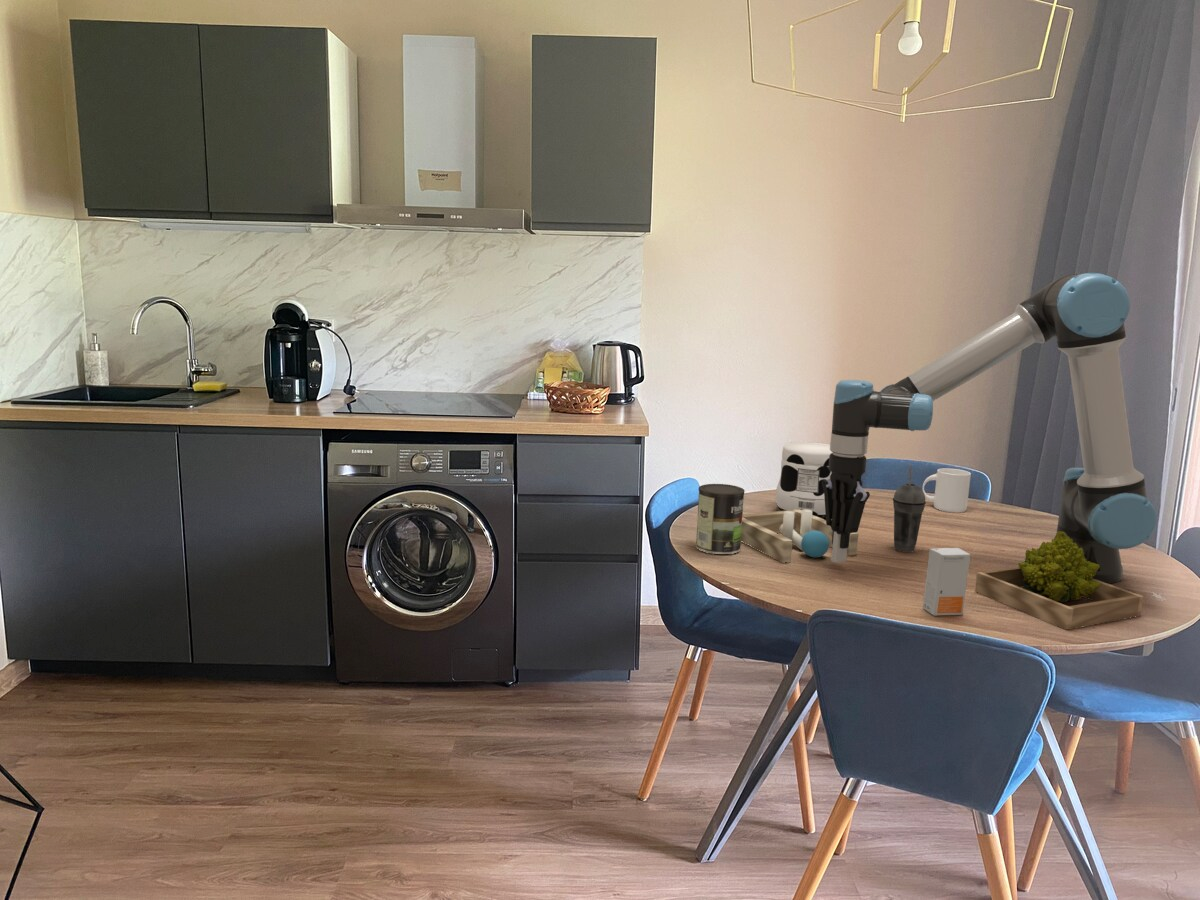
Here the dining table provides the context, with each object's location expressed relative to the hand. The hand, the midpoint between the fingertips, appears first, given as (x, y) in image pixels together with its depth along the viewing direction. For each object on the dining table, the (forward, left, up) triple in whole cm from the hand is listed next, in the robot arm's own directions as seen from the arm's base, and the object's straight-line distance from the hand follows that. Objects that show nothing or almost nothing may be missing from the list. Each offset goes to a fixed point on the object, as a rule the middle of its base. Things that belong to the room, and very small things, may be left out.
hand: (838, 561), depth 188 cm
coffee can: (+20, +18, -2) cm, 27 cm away
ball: (+8, 0, +2) cm, 8 cm away
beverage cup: (+6, -24, -2) cm, 25 cm away
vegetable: (-30, -29, -1) cm, 42 cm away
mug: (+33, -63, -2) cm, 71 cm away
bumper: (+17, 0, -1) cm, 17 cm away
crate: (-32, -27, -1) cm, 42 cm away
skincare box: (-28, -2, -2) cm, 28 cm away
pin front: (+12, 0, 0) cm, 12 cm away
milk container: (+40, -22, -2) cm, 46 cm away
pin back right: (+15, -3, -1) cm, 16 cm away
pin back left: (+15, +2, -1) cm, 16 cm away
